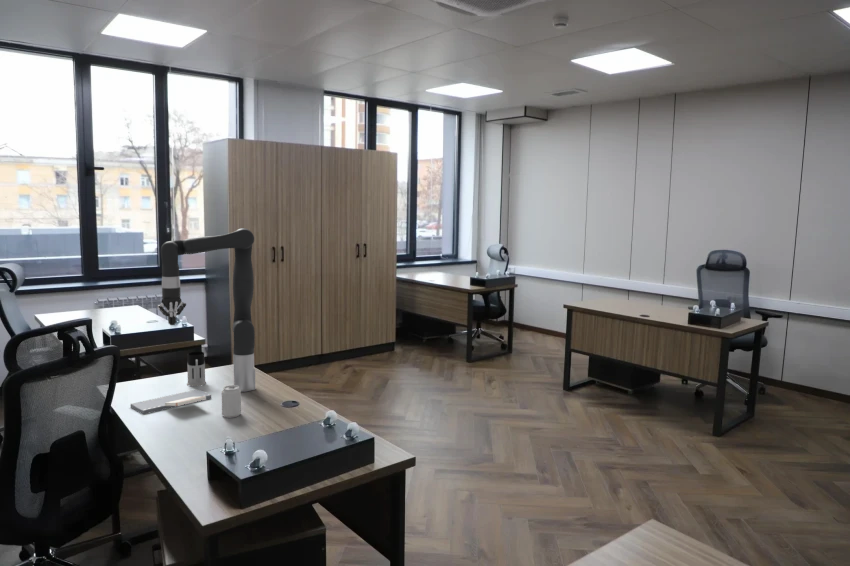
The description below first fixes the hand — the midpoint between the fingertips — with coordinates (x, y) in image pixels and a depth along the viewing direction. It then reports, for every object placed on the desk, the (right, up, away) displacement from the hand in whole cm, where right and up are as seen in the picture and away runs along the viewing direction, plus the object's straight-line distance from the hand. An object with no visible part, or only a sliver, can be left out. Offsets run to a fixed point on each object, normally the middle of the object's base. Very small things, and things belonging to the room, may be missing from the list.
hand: (172, 324), depth 266 cm
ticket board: (+3, -33, -8) cm, 34 cm away
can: (+34, -36, -22) cm, 54 cm away
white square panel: (+8, -32, -12) cm, 35 cm away
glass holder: (+4, -30, +18) cm, 35 cm away
